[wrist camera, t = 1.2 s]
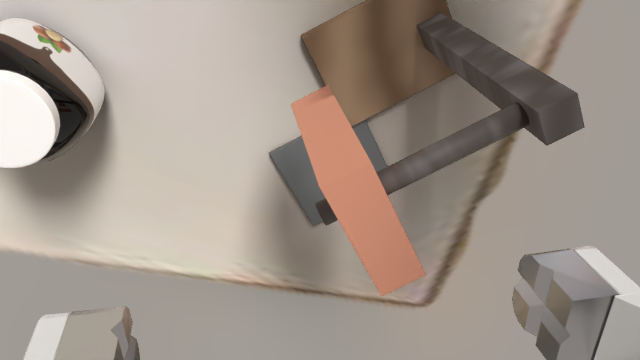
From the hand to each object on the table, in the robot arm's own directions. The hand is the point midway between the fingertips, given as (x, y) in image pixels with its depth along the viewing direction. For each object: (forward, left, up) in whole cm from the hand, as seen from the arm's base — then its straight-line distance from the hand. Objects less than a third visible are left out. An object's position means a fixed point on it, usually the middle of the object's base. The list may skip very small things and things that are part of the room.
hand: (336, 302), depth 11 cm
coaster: (+1, +20, -40) cm, 45 cm away
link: (-1, +11, -28) cm, 30 cm away
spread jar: (+21, -2, -40) cm, 45 cm away
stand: (-6, +11, -40) cm, 42 cm away
